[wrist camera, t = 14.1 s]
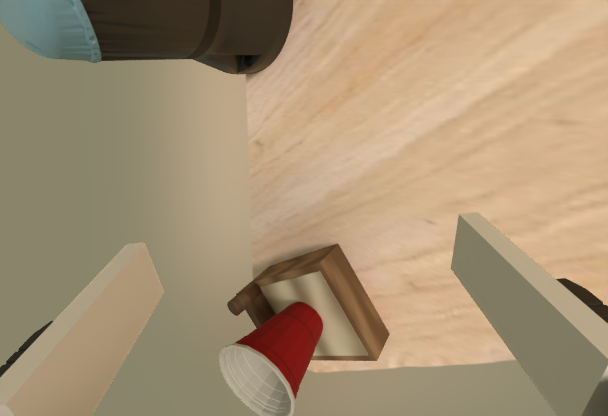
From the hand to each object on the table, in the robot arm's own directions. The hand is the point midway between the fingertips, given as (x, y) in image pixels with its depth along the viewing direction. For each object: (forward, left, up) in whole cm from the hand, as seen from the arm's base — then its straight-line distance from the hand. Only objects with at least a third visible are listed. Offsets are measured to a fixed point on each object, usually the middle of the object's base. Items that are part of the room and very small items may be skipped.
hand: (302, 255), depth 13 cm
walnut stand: (-2, -29, -23) cm, 37 cm away
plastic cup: (-1, -28, -18) cm, 33 cm away
